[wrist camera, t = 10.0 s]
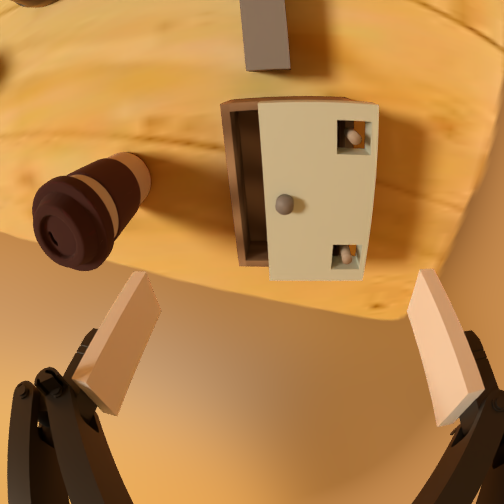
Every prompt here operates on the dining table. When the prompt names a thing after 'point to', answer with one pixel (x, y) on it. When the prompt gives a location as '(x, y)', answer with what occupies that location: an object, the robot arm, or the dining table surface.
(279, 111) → the door
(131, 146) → the dining table surface
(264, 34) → the block
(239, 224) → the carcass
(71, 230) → the coffee cup
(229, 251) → the dining table surface
